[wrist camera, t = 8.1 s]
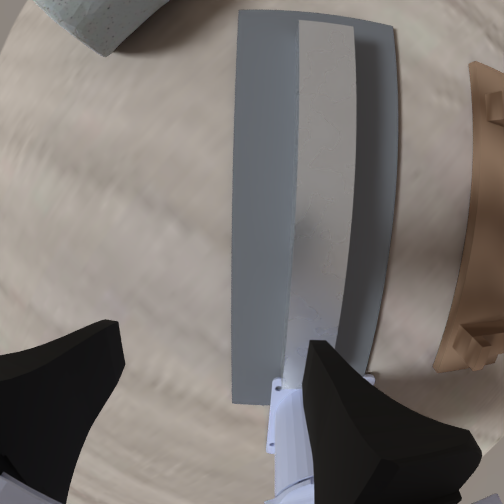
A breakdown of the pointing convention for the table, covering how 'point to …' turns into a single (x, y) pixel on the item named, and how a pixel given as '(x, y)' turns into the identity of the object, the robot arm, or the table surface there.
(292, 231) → the steel rail
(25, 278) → the table surface
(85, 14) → the ceramic mug
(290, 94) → the rubber mat
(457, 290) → the walnut standards
